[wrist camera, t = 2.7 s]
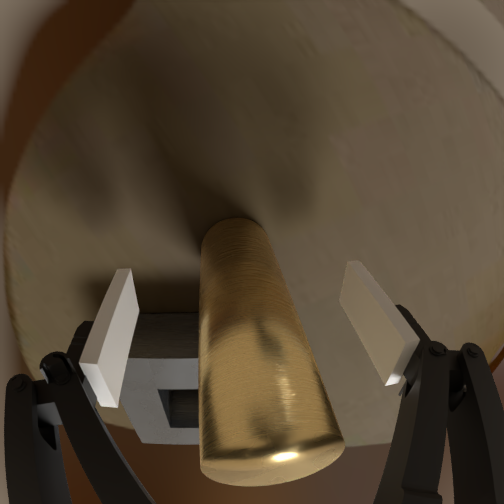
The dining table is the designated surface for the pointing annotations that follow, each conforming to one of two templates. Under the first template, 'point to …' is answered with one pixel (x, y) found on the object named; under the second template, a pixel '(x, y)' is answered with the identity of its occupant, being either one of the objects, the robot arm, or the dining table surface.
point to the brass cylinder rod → (256, 368)
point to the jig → (163, 379)
